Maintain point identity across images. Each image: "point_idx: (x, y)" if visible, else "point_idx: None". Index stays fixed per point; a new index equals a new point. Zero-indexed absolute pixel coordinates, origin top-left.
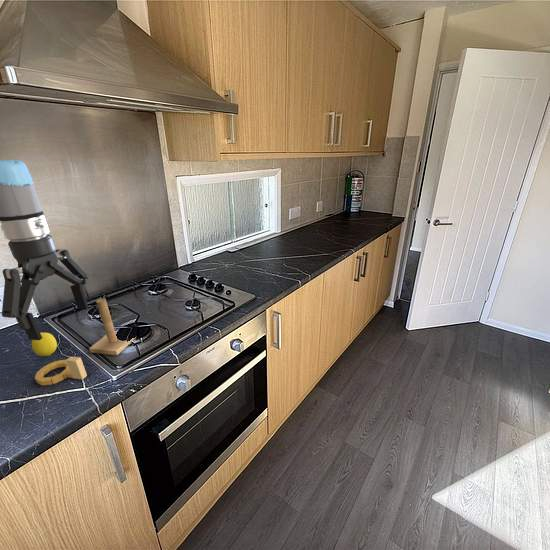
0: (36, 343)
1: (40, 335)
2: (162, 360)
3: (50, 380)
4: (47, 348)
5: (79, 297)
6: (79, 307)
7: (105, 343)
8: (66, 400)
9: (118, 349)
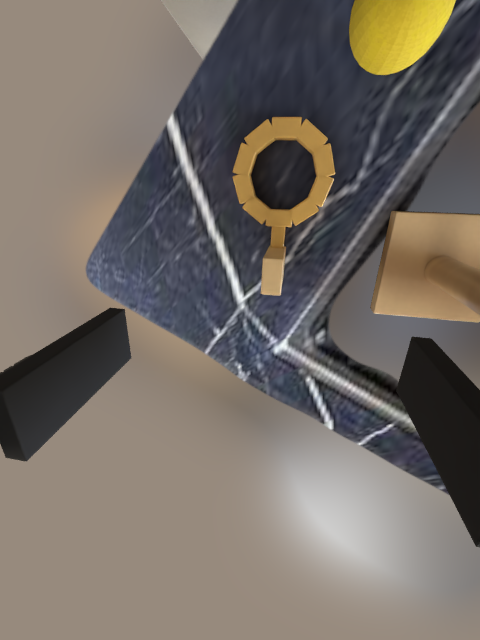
0: (365, 7)
1: (118, 367)
2: (344, 421)
3: (240, 203)
4: (366, 64)
5: (436, 425)
6: (410, 355)
7: (423, 253)
8: (203, 284)
9: (384, 313)
